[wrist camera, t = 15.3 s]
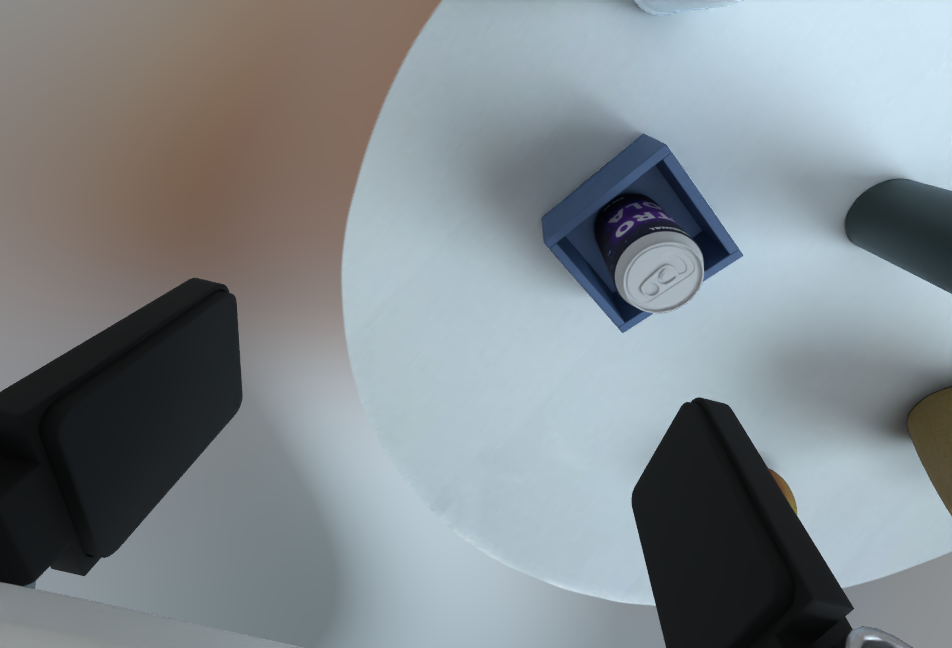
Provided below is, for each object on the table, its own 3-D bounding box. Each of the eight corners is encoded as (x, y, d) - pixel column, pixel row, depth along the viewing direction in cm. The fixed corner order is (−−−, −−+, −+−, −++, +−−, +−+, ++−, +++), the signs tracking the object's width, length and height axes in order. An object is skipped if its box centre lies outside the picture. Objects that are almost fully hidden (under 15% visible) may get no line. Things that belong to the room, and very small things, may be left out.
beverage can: (675, 220, 38) (731, 274, 28) (625, 268, 40) (658, 334, 30) (628, 176, 37) (668, 216, 26) (579, 228, 39) (597, 283, 29)
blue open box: (541, 218, 40) (543, 242, 34) (643, 133, 36) (666, 143, 30) (610, 299, 43) (622, 333, 37) (711, 229, 39) (743, 255, 33)
